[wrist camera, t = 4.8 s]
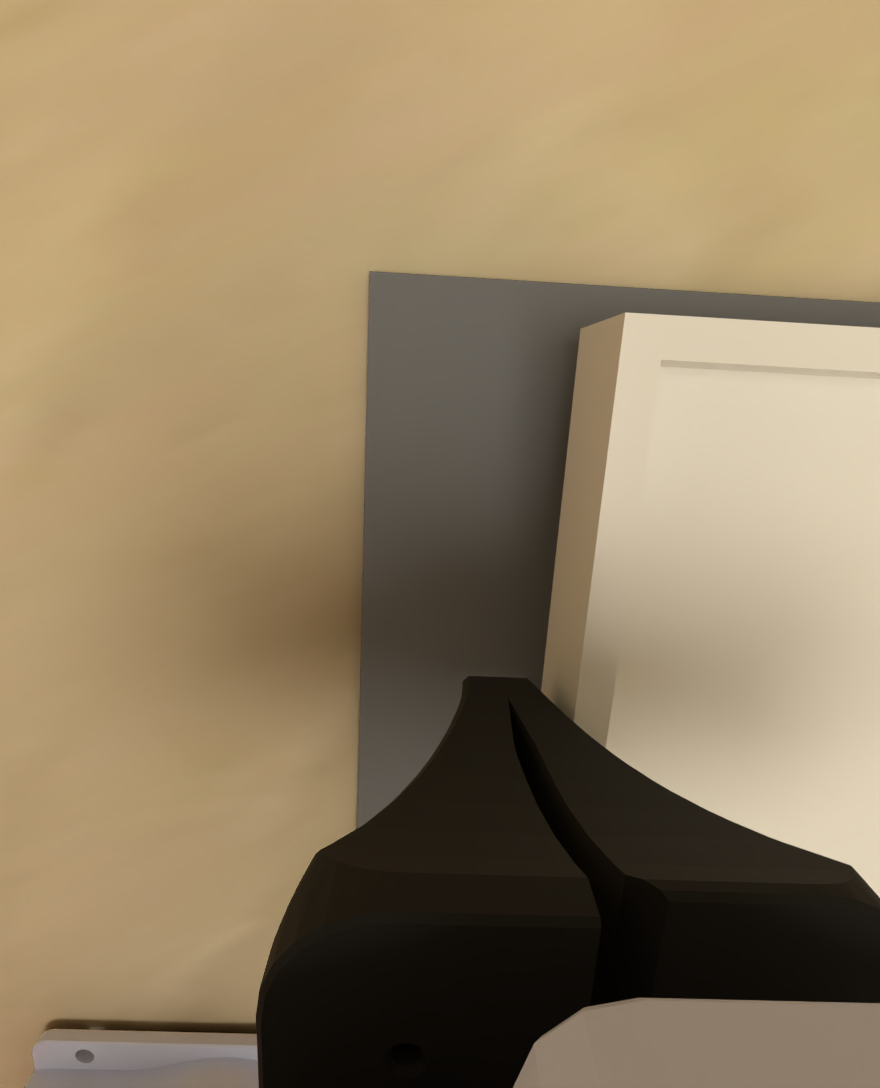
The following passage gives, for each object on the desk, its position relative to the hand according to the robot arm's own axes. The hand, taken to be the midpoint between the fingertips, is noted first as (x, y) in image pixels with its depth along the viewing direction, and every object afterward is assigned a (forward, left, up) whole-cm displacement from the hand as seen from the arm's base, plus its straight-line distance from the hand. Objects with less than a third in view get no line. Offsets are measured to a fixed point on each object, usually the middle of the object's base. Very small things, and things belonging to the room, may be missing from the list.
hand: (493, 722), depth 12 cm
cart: (+6, 0, -2) cm, 7 cm away
